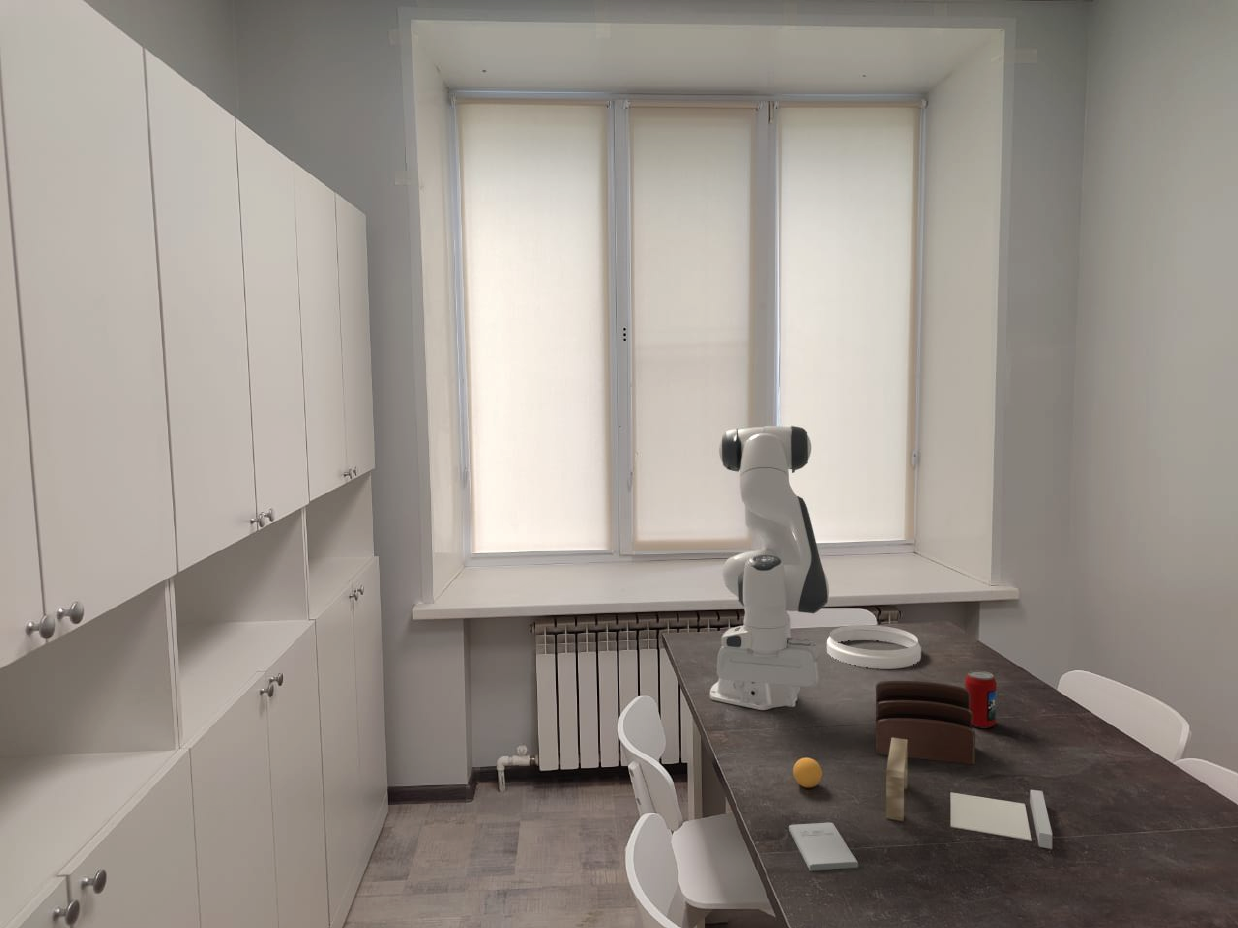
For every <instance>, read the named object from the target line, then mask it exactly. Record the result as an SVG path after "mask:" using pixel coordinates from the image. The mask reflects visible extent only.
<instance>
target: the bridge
mask: <svg viewBox="0 0 1238 928" xmlns="http://www.w3.org/2000/svg"><path fill="white" fill-rule="evenodd" d="M907 742H908V740H906V739H899V738H891V744H890V750H889V755H887V764H886V767H885V768H886V769H885V775H886V776H885V779H886V780H885V781H886V782H885V796H886V797H885V819H891V820H896V821H900V822H901V821H902V822H904V818H905V811H904V810H905V790H907V789H908V757H907Z"/></svg>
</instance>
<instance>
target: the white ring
mask: <svg viewBox="0 0 1238 928" xmlns="http://www.w3.org/2000/svg"><path fill="white" fill-rule="evenodd" d="M848 640H850V641H876V640H879V641H878V642H885V641H886V642H885V643H891V644H896V645H900V646H903V647H905V648H900V649H892V650H891V649H885V650H883V649H882V650H881V649H866V648H860V647H854V646H851V645H850V646H849V645H847V644H843V643H842V642H841V641H843V642H848ZM838 642H839V643H838ZM826 653H827V655H828V654H829V655H830V656H831V658H832V657H833V658H834V660H835V659H837V660H839V661H838V662H840V661H841V663H843V662H844V663H843V664H846V663H847V665H849V664H851V665H850V666H854V665H856V666H855V667H859V666H860V668H866V667H868V669H877V668H878V669H881V670H882V669H884V670H885V669H886V670H889V669H891V670H892V669H902V668H907V667H911V666H914V665H916V664H918V663H919V662H920V661H921V659H922V647H921V645H920V644H919V640H918V637H917V636H915V634H913V633H911V632H909V631H906V630H903V629H900V628H899V629H898V628H895V627H889V626H883V625H872V624H855V625H854V624H852V625H846V626H845V625H844V626H841V627H838V628H836V629H833V630H832V631H831V632H830V633H829V637H828V638H827V639H826ZM829 655H828V656H829ZM830 656H829V657H830ZM833 658H832V659H833ZM837 660H836V661H837ZM917 662H918V663H917ZM913 664H914V665H913Z"/></svg>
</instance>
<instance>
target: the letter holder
mask: <svg viewBox="0 0 1238 928" xmlns="http://www.w3.org/2000/svg"><path fill="white" fill-rule="evenodd" d="M972 719H973V714H972V711H971V710H970V692H969V691H968V690H967V689H965V687H960V686H955V685H950V684H945V683H938V682H930V681H928V682H927V681H917V680H916V681H915V680H884V681H879V682H877V684H876V686H875V752H876V753H875V754H876V755H880V756H881V755H883V756H889V750H890V744H891V738H899V739H906V740H908V742H907V758H908V759H909V758H910V759H919V760H929V761H938V762H946V763H947V762H948V763H956V764H965V765H976V764H975V763H976V754H975V753H976V732H975V730H974V729H973V726H972Z"/></svg>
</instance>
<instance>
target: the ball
mask: <svg viewBox="0 0 1238 928" xmlns="http://www.w3.org/2000/svg"><path fill="white" fill-rule="evenodd" d="M792 771H793V772H792V773H793V778H794V779H795V781H796V782H797V783H798V785H800V786H801V787H804V788H813V787H815V786H817V785H818V784H819V783H820V781H821V780H822V777H823V772H822V768H821V766H820V764H819V763H818V762H817V760H815V759H814V758H811V757H802V758H799V759H798V760H797V761H796V762H795V763H794V765H793V768H792Z"/></svg>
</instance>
